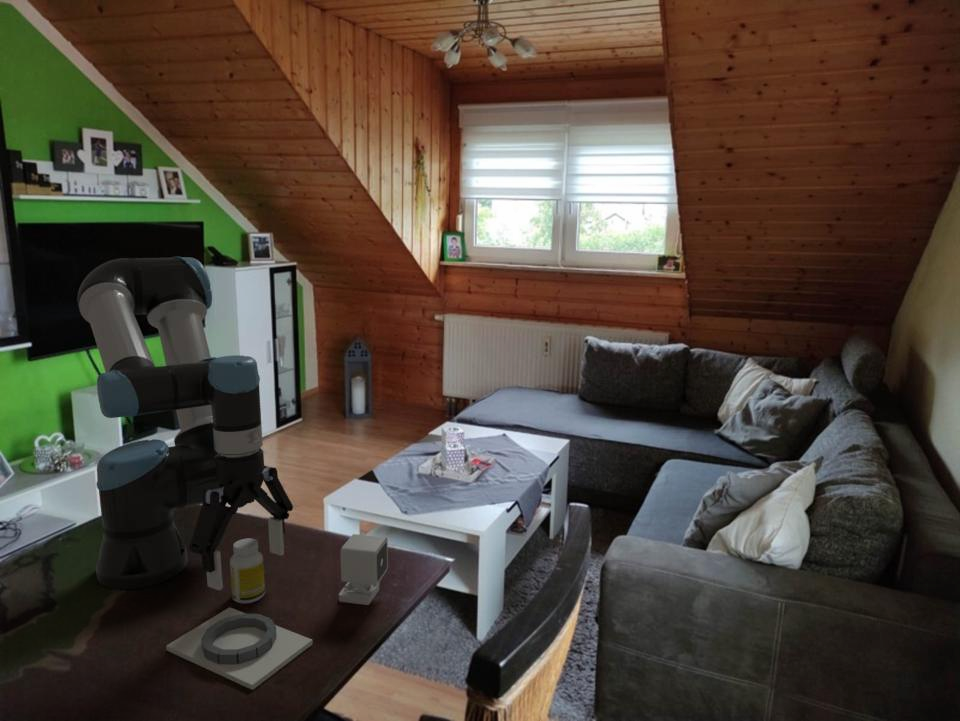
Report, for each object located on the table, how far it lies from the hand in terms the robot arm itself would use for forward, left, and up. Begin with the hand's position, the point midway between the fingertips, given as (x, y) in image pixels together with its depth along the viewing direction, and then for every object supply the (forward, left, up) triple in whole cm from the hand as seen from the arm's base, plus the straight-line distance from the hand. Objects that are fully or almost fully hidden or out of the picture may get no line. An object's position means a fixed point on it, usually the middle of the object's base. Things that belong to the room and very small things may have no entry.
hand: (247, 569), depth 118 cm
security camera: (+17, +10, -5) cm, 20 cm away
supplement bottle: (0, 0, -5) cm, 5 cm away
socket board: (+10, -11, -5) cm, 15 cm away
